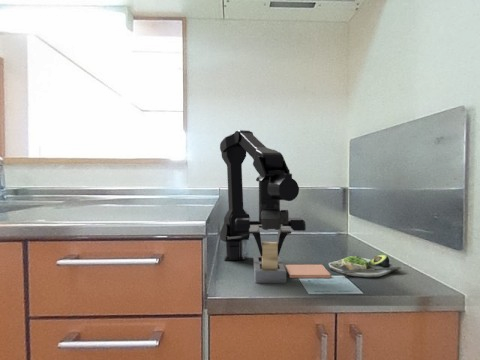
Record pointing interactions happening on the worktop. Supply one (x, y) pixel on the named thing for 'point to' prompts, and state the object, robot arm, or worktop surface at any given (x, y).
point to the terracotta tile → (307, 271)
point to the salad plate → (364, 266)
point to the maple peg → (269, 255)
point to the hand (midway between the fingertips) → (269, 255)
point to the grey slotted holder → (268, 272)
